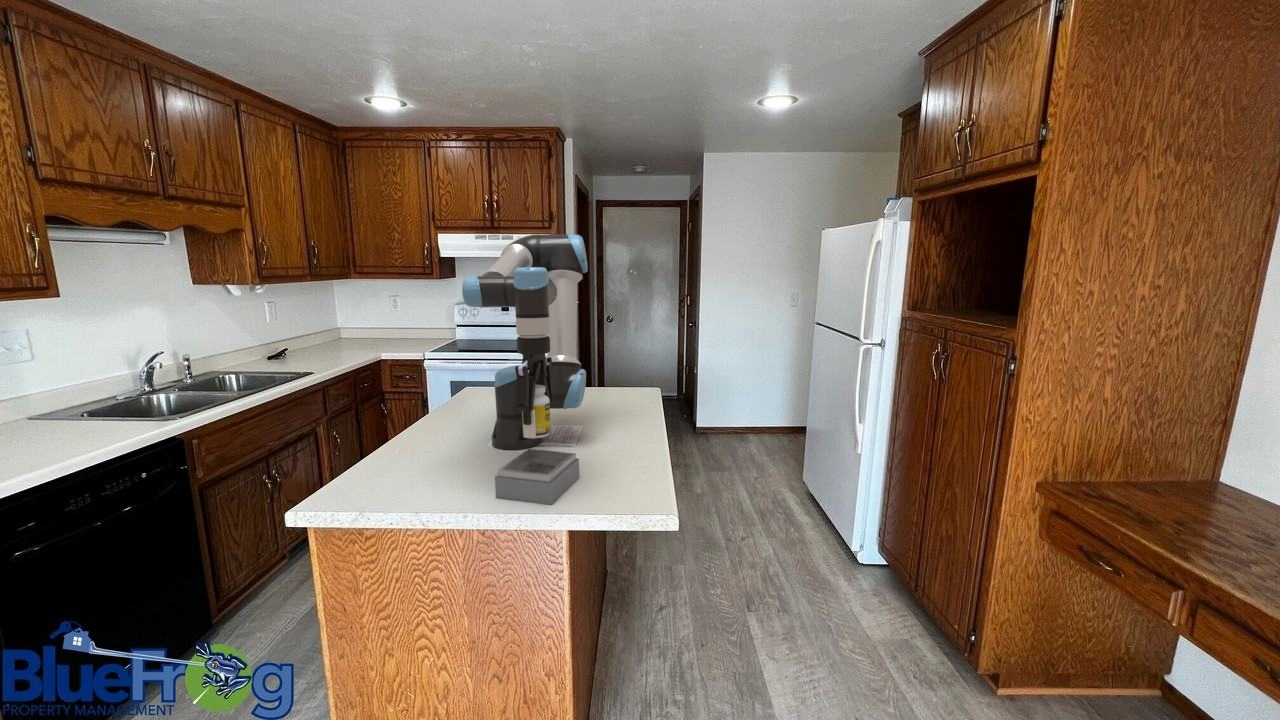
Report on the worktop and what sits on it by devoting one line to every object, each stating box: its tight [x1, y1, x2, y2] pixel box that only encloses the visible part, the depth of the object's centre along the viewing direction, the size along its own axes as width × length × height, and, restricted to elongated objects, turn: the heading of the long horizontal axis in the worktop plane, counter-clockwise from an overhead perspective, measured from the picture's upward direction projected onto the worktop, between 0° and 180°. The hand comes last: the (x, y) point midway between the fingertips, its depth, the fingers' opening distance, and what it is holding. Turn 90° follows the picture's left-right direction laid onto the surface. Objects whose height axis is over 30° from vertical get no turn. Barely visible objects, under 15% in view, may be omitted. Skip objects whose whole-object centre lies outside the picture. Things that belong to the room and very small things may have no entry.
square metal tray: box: [494, 448, 580, 506], centre depth 126 cm, size 16×16×6 cm
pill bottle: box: [522, 385, 552, 438], centre depth 122 cm, size 6×6×12 cm
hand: (537, 432), depth 123 cm, fingers closed on pill bottle, 6 cm apart
